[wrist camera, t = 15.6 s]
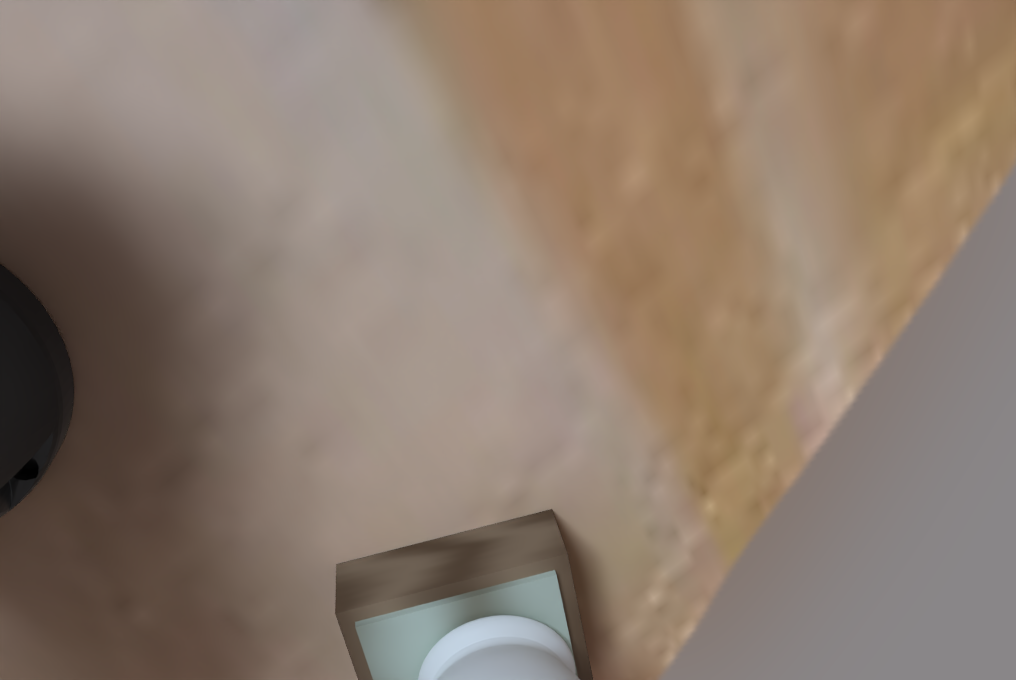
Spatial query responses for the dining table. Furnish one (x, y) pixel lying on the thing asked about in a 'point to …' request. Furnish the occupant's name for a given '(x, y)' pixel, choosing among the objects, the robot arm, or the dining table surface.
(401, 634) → the plinth
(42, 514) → the dining table surface
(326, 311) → the dining table surface
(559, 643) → the jar
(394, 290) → the dining table surface
